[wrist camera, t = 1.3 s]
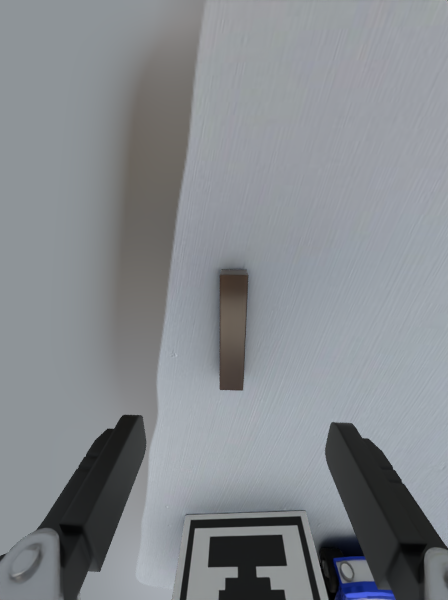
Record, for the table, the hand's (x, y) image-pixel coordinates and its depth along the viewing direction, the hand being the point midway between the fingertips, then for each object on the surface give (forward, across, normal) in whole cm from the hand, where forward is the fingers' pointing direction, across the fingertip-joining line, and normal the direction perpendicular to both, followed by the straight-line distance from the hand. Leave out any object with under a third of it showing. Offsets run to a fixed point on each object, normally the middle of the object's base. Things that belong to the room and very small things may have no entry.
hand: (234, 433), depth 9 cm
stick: (+10, 0, 0) cm, 10 cm away
